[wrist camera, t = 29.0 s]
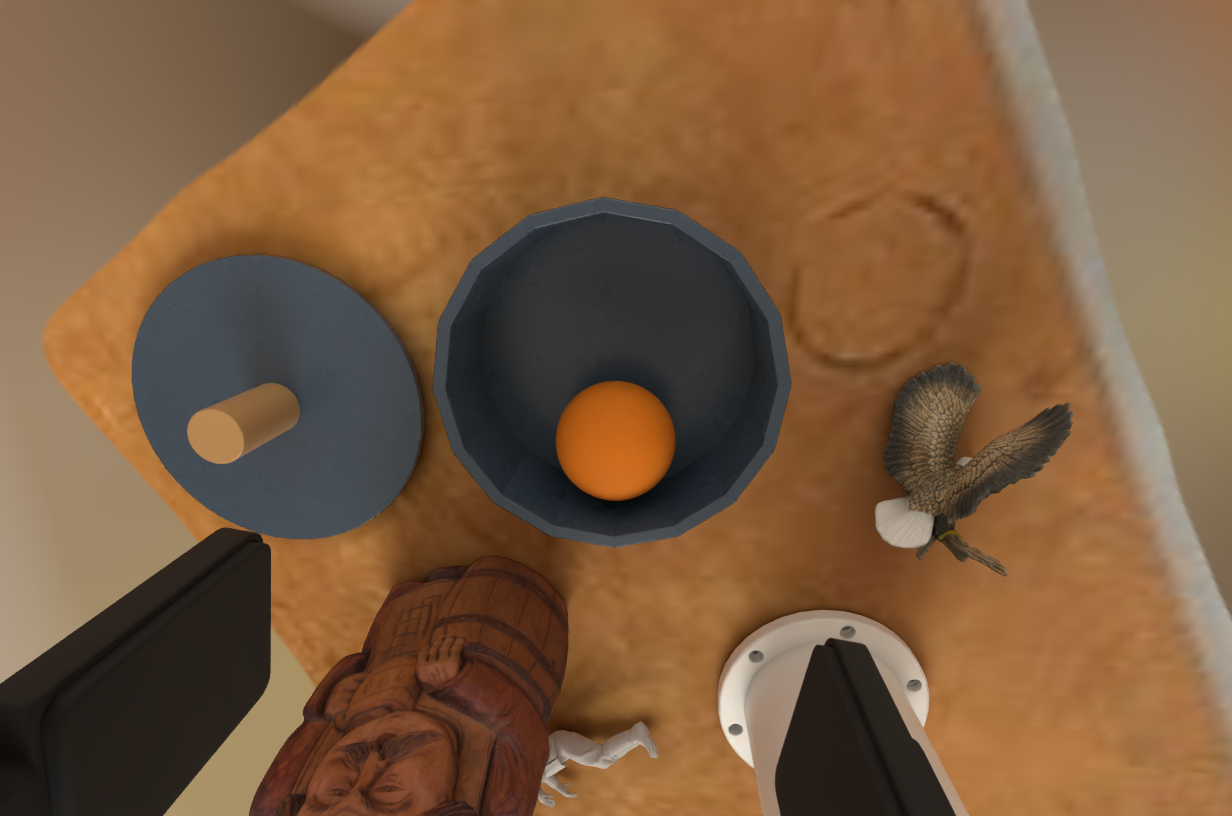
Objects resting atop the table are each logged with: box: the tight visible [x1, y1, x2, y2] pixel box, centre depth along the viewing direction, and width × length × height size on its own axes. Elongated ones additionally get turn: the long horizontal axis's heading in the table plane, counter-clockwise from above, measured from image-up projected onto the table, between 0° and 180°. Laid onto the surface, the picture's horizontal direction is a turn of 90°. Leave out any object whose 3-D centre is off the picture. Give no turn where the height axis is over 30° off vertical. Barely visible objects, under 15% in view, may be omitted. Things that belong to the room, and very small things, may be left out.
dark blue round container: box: [433, 197, 791, 548], centre depth 31 cm, size 16×16×6 cm
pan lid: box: [132, 254, 424, 539], centre depth 33 cm, size 16×16×6 cm
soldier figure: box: [538, 721, 658, 807], centre depth 40 cm, size 8×5×12 cm
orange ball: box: [556, 381, 675, 501], centre depth 31 cm, size 6×6×6 cm
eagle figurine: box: [875, 362, 1073, 576], centre depth 31 cm, size 8×7×9 cm
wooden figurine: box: [249, 556, 568, 816], centre depth 30 cm, size 12×6×18 cm, turn 105°
